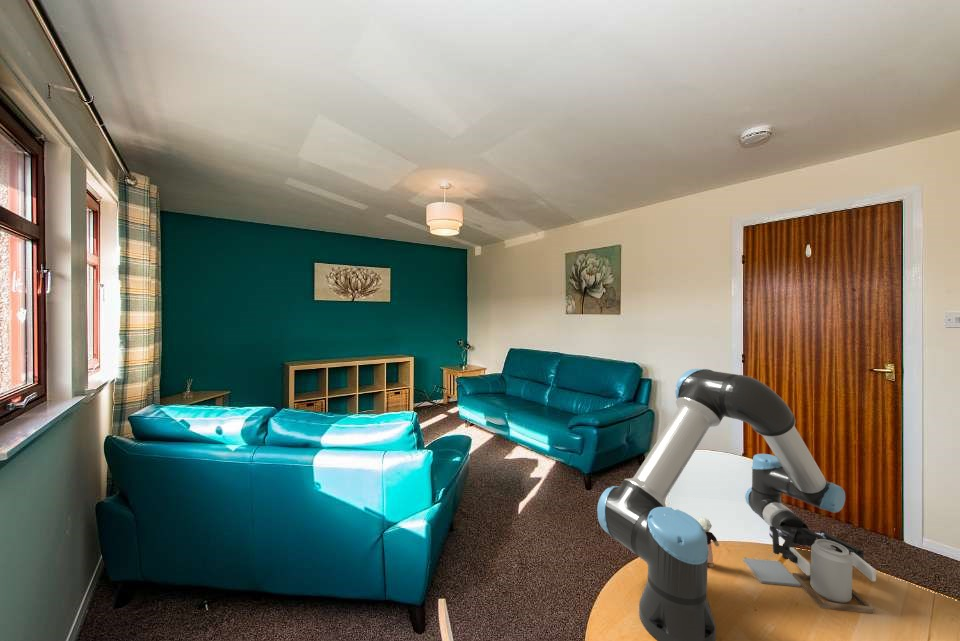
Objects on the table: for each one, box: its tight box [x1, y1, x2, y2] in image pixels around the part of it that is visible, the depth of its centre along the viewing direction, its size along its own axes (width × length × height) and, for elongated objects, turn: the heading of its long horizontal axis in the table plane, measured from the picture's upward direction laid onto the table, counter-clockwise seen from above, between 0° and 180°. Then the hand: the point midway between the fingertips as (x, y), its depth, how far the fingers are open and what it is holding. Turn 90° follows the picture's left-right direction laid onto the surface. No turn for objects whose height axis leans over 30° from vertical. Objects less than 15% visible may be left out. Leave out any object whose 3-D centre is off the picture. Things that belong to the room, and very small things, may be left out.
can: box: [809, 538, 854, 604], centre depth 94 cm, size 8×8×12 cm
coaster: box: [742, 557, 802, 588], centre depth 102 cm, size 9×9×1 cm
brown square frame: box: [791, 572, 875, 614], centre depth 95 cm, size 11×11×1 cm
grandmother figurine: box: [697, 517, 720, 568], centre depth 105 cm, size 8×4×13 cm, turn 106°
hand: (841, 572), depth 91 cm, fingers open, 13 cm apart
